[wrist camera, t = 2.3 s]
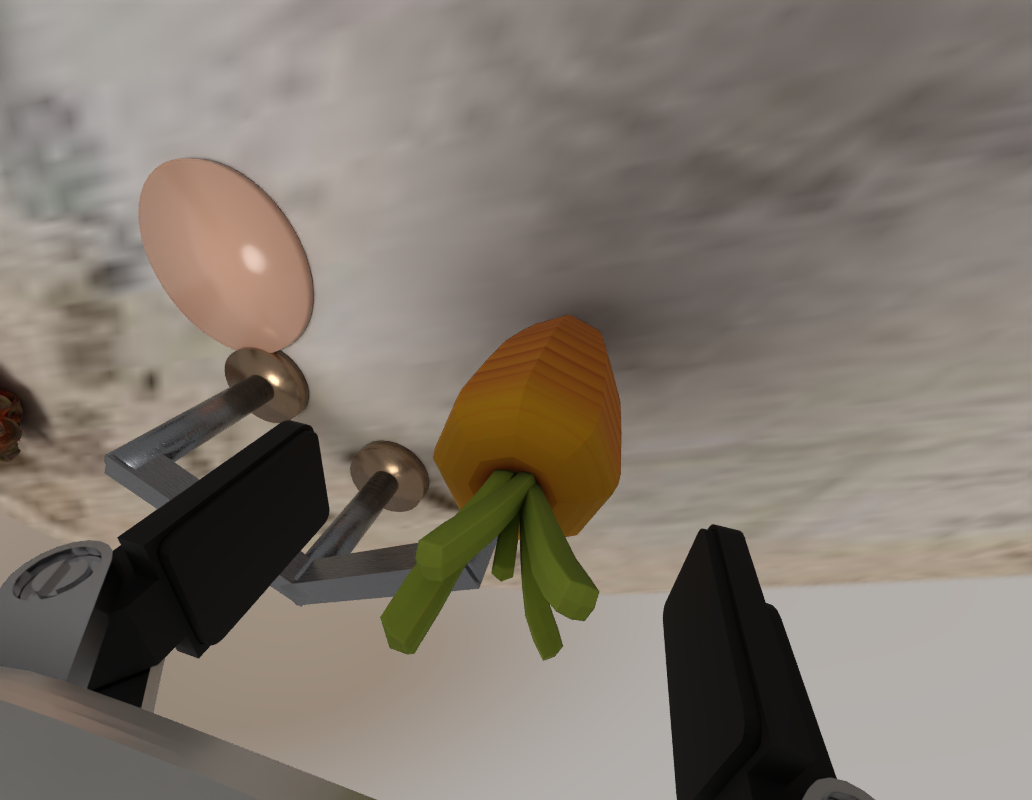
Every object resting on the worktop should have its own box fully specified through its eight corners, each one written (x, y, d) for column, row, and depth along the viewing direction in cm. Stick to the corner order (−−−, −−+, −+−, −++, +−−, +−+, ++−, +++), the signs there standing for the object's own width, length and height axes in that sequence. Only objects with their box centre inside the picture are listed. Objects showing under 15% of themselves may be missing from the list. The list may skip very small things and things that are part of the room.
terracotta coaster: (295, 172, 19) (286, 172, 19) (325, 365, 24) (318, 369, 24) (121, 147, 21) (108, 147, 20) (184, 333, 26) (175, 336, 25)
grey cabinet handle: (569, 412, 22) (529, 551, 14) (543, 541, 27) (503, 694, 19) (229, 336, 25) (46, 413, 17) (264, 463, 30) (135, 565, 22)
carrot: (639, 282, 18) (637, 583, 5) (620, 385, 20) (587, 758, 7) (525, 271, 19) (284, 498, 6) (521, 370, 21) (345, 677, 8)
